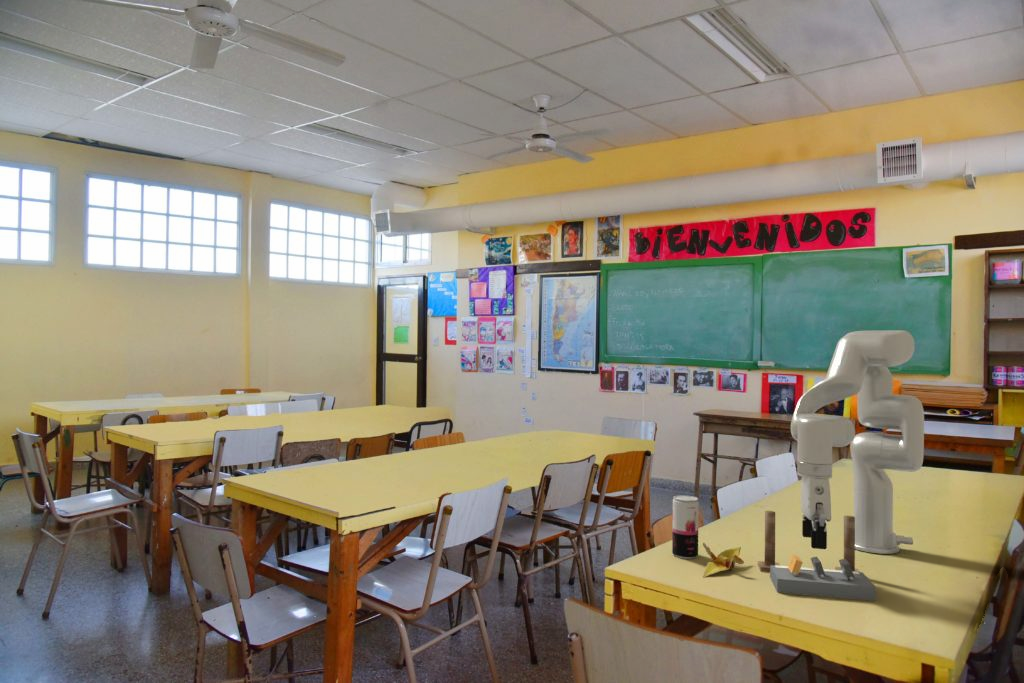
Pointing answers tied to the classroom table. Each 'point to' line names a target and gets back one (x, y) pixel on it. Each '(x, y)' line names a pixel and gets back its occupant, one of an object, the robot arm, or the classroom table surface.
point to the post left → (769, 543)
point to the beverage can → (685, 527)
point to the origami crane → (722, 560)
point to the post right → (849, 542)
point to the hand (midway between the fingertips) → (814, 542)
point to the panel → (822, 583)
